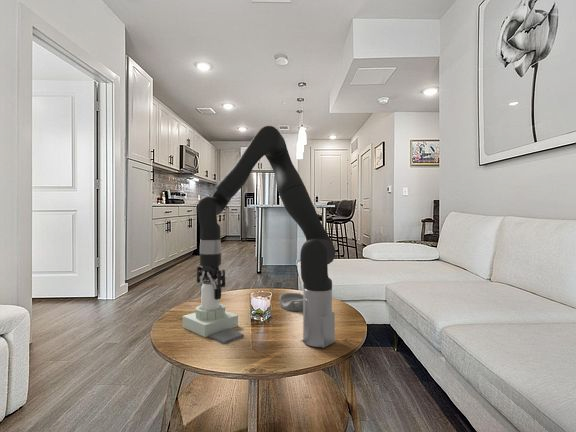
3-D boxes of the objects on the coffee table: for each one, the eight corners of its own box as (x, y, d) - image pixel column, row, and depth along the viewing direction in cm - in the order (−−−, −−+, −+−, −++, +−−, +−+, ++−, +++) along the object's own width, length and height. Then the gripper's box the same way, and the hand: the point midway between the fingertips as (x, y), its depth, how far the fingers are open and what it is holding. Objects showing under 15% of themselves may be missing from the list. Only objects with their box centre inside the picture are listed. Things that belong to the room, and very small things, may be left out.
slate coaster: (243, 336, 104) (243, 334, 104) (223, 343, 98) (223, 341, 98) (228, 330, 109) (228, 328, 109) (209, 337, 103) (209, 334, 103)
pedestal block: (238, 326, 114) (238, 306, 114) (204, 337, 103) (204, 316, 103) (215, 317, 123) (215, 299, 123) (182, 327, 112) (182, 307, 112)
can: (222, 312, 116) (222, 280, 116) (216, 318, 109) (216, 284, 109) (205, 312, 117) (205, 280, 116) (198, 318, 110) (198, 284, 110)
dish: (301, 314, 128) (301, 302, 128) (272, 309, 135) (273, 297, 135) (316, 305, 140) (316, 294, 140) (289, 301, 147) (289, 290, 147)
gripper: (231, 252, 111) (231, 298, 111) (208, 249, 120) (208, 292, 120) (213, 254, 105) (213, 303, 105) (190, 251, 115) (190, 295, 115)
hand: (210, 297), depth 113 cm, fingers open, 8 cm apart
